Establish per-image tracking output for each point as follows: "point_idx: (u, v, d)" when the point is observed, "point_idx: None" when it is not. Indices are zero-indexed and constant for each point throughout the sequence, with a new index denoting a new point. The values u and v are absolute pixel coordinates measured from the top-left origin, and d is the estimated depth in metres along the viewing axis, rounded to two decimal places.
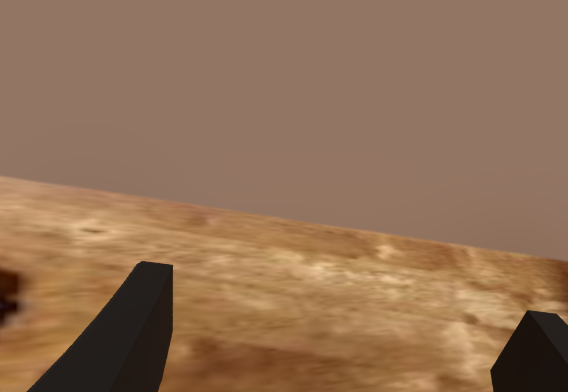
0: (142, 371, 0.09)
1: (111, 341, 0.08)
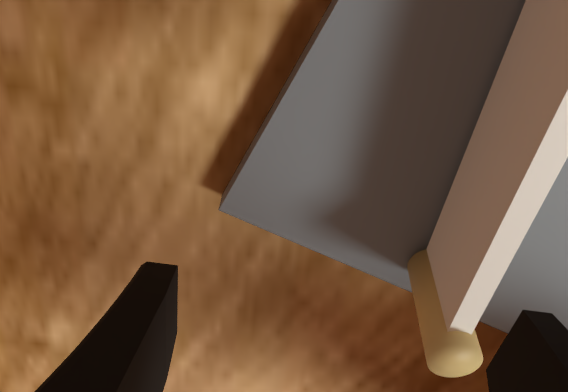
0: (148, 372, 0.09)
1: (117, 342, 0.08)
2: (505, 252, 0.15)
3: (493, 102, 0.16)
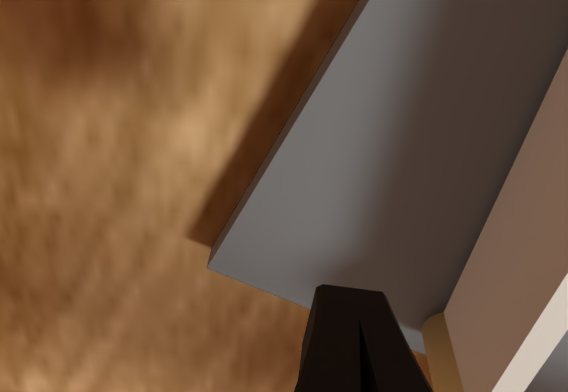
0: None
1: (338, 368, 0.08)
2: (545, 343, 0.12)
3: (528, 158, 0.13)
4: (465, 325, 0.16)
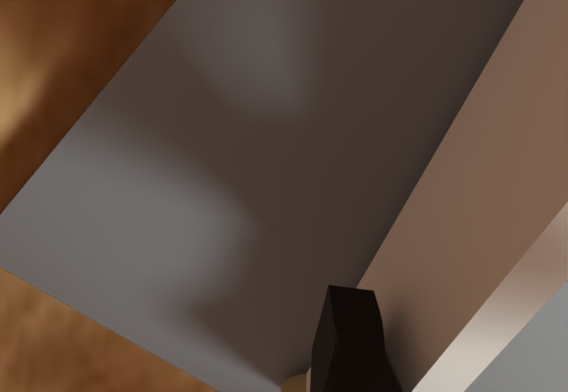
0: None
1: (365, 372, 0.08)
2: None
3: (407, 223, 0.11)
4: None
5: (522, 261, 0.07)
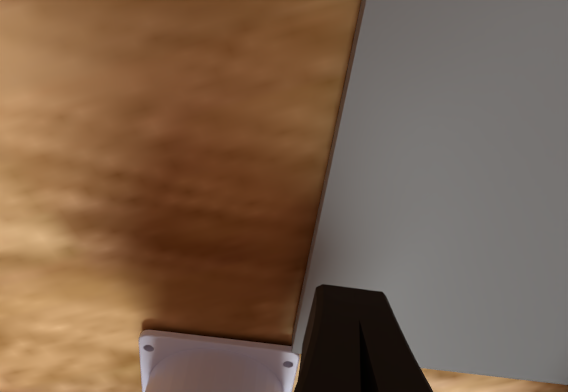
0: None
1: (338, 368, 0.08)
2: None
3: None
4: None
5: None
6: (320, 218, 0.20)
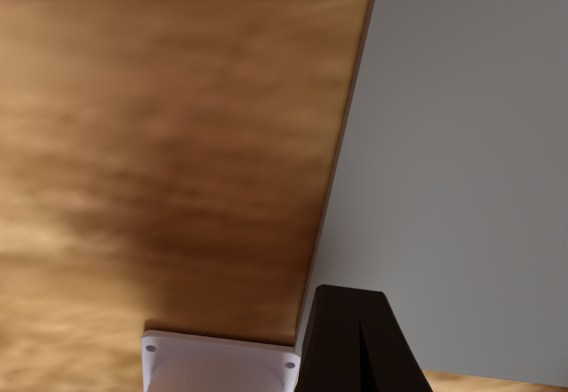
0: None
1: (338, 368, 0.08)
2: None
3: None
4: None
5: None
6: (324, 220, 0.20)
